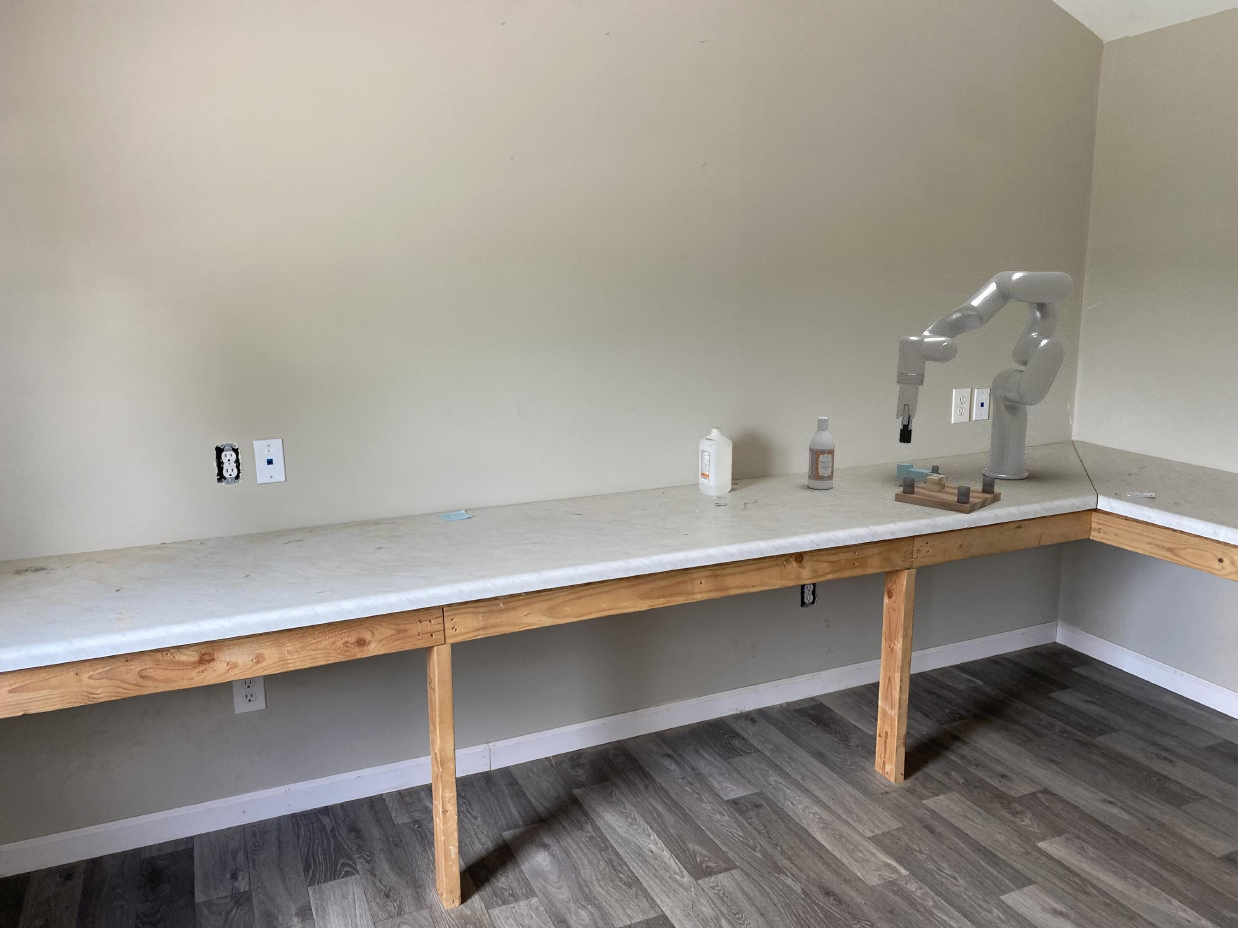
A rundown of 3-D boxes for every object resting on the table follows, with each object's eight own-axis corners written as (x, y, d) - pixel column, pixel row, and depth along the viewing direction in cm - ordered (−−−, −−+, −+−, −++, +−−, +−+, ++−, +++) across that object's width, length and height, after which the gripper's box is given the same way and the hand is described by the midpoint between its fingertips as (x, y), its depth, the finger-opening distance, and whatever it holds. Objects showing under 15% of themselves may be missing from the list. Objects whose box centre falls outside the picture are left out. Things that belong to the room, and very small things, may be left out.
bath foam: (812, 490, 256) (815, 419, 252) (804, 484, 263) (806, 416, 258) (836, 489, 257) (839, 419, 253) (827, 483, 264) (830, 415, 259)
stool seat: (929, 487, 258) (931, 463, 256) (1000, 499, 244) (1002, 473, 243) (894, 500, 244) (896, 474, 242) (967, 513, 230) (969, 486, 229)
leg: (942, 481, 255) (943, 467, 254) (934, 484, 251) (935, 470, 251) (903, 475, 263) (903, 462, 262) (895, 478, 260) (896, 464, 259)
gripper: (899, 376, 269) (894, 437, 273) (894, 381, 256) (888, 445, 259) (925, 377, 267) (920, 439, 270) (922, 382, 253) (916, 448, 257)
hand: (905, 442), depth 265 cm, fingers closed
